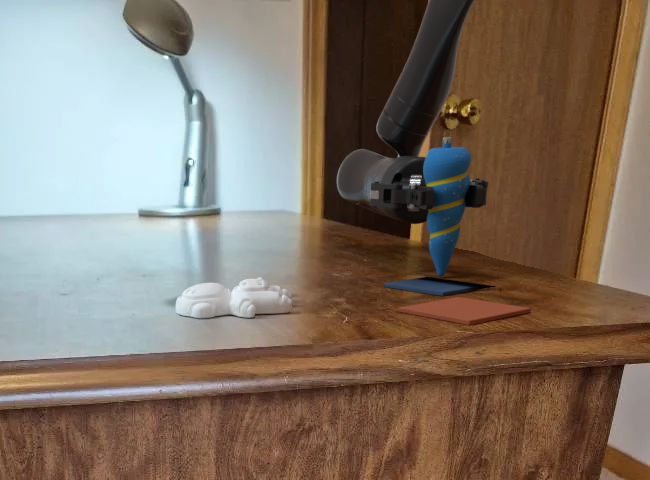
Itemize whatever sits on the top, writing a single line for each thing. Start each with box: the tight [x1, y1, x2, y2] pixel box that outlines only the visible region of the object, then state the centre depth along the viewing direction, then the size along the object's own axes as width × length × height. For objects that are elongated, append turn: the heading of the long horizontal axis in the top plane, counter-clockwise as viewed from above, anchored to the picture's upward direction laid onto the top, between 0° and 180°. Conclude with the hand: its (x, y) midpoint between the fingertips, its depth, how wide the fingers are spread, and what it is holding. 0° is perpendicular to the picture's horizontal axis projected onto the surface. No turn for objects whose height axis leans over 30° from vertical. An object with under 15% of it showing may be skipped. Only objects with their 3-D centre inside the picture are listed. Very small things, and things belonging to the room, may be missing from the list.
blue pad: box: [383, 276, 497, 297], centre depth 91 cm, size 9×9×1 cm
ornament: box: [423, 129, 472, 277], centre depth 87 cm, size 5×5×15 cm
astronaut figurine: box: [175, 276, 294, 319], centre depth 80 cm, size 9×12×3 cm
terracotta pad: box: [397, 296, 532, 326], centre depth 77 cm, size 9×9×1 cm
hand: (454, 197), depth 85 cm, fingers closed on ornament, 5 cm apart
